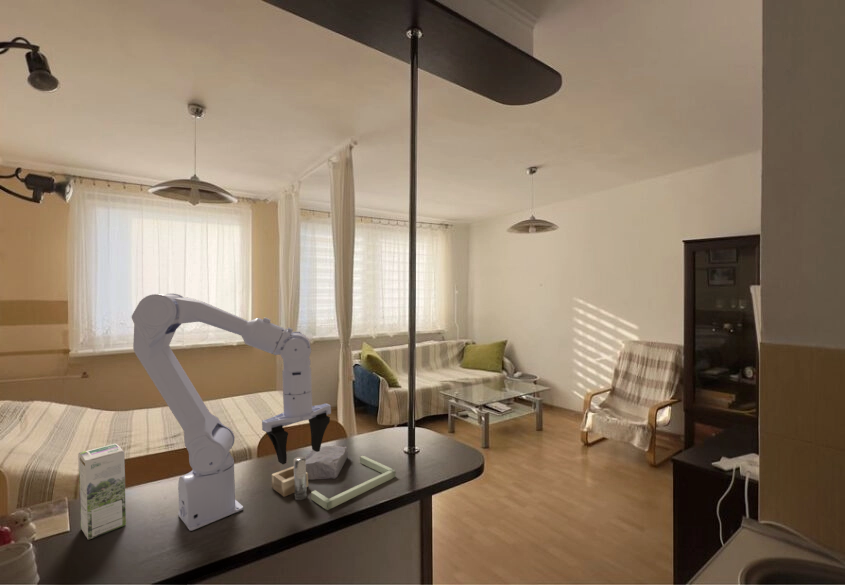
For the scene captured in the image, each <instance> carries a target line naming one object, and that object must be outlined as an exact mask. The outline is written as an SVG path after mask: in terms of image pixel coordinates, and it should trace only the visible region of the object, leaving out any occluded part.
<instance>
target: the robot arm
mask: <svg viewBox="0 0 845 585" xmlns="http://www.w3.org/2000/svg"><path fill="white" fill-rule="evenodd" d="M131 319H132V321H133V322H132V323H133V343H132V344H133V346H132V348H133V352H134V354H135V355H136V357H137V359H138V361H139V362H140V364H141V365H142V367H143V368H144V369H145V371H146V374H147V375H148V376H149V378H150V380H151V381H152V382H153V384H154V386H155V387H156V389H157V390H158V392H159V394H160V396H161V397H162V398H163V401H165V403H166V405H167V406H168V408H169V409H170V411H171V413H172V414H173V416H174V418H175V419H176V421H177V422H178V424H179V426H180V428H182V431H183V440H184V446H185V448H186V450H187V452H188V462H189V465H190V467H191V469H192V470H191V471H189V472H187V473H186V474H183V475H181V476H180V477H179V478H178V484H177V486H178V487H177V489H178V493H177V494H178V512H177V513H178V516H179V518H180V519H181V521H182V522H183V524H184V525H185V526H186V528H187V529H188V531H195V530H197V529H199V528H202V527H204V526H207V525H209V524H211V523H214V522H216V521H219V520H221V519H224V518H227V517H228V516H230V515H233V514H236V513H238V512H240V511H243V510H244V506H243V505H242V504H241V503H240V502H239V501H238V500H237V499H236V487H235V486H236V485H235V484H236V482H235V459H234V457H233V456H232V454H231V452H230V451H231V449H232V448H233V446H234V444H235V439H236V438H235V434H234V431H233V430H232V429H231V428H229V427H228V426H226V425H225V424H223V423H222V421H221V420H220V418H219V417H218V416H216V415H214V414H213V413H211V412H210V410H209V409H208V407H207V406H206V403H205V402H204V400H203V398H202V397H201V395H200V394H199V392H198V391H197V389H196V388H195V386H194V384H193V382H192V381H191V379H190V378H189V376H188V375H187V374H188V373H187V372H186V371H185V370H184V368H183V366H182V365H181V363H180V361H179V360H178V358H177V357H176V354H175V353H174V352H173V350H172V348H171V347H170V344H171V342H172V340H173V337H174V336H175V333H176V331H177V329H179V328H180V326H181V325H183V324H191V323H203V324H204V325H209V326H211V327H214V328H217V329H220V330H223V331H227V332H230V333H233V334H235V335H238V336H241V338H242V339H243V342H244V345H247V346H250V347H252V348H255V349H257V350H261V351H263V352H266V353H269V354H271V355H274V356H278V355H280V356H281V359H282V361H283V362H282V363H283V369H282V373H281V374H282V397H283V398H282V401H283V402H282V403H283V412H281V413H279V414H277V415H274V416H272V417H269V418H266V419H263V420H262V421H261V430H262V431H263V432H265V433H266V434H267V436H268V438H269V440H270V441H271V443H272V445H273V447H274V450H275V453H276V456H277V457H276V458H277V461H278V463H280V465H281V464H282V465H285V464H287V460H288V459H287V458H288V457H287V456H288V455H287V441H288V436H289V432H288V431H286V430H285V428H284V427H286V426H289V425H293V424H296V423H299V422H303V421H308V423H309V428H310V440H311V443H310V444H311V448H312V449H311V451H312V450H314V451H316V452H319V451H320V448H321V447H322V446H321V445H322V444H323V438H324V434H325V432H326V430H327V428H328V426H329V424H330V421H331V419H330V416H328V415H331V414H332V405H331V404H329V403H322V404H316V405H313V387H312V386H313V383H312V382H313V381H312V368H311V359H310V356H311V354H312V348H311V341H310V339H309V338H308V337H307V335H306V334H303V333H302V332H301V331H293V330H294V328H292V327H287V328H285V327H283V326H280V325H278V324H275V323H274V322H273V323H272V322H271V321H272V320H271V319H270V318H268V317H263V319H262V318H260V317H256V318H253V319H251V320H247V319H244V318H242V317H240V316H238V315H236V314H233V313H231V312H229V311H226V310H223V309H220V308H218V307H217V306H214V305H212V304H209V303H206V302H205V301H201V300H199V299H195V298H191V297H184V296H183V295H181V294H177V293H167V294H161V293H154V294H153V293H152V294H149V295H146V296H145V297H143V298H142V299H141V300H140V301H139V302H138V303H137V306H136V307H135V309H134V311H133V313H132V314H131Z"/></svg>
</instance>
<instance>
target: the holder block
mask: <svg viewBox="0 0 845 585" xmlns="http://www.w3.org/2000/svg"><path fill="white" fill-rule="evenodd" d="M308 487H309V479H308V473H307V472H306V488H308ZM271 488H272V489H273V490H274V491H276V492H277V493H278V494H279V495H281V496H282V497H283V498H285V497H288V496H289V495H292V494H295V492H294V465H293V466H290V467H288V468H287V467H286V468H284V469H282V470H279V471H277V472H273V473H272V474H271Z"/></svg>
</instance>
